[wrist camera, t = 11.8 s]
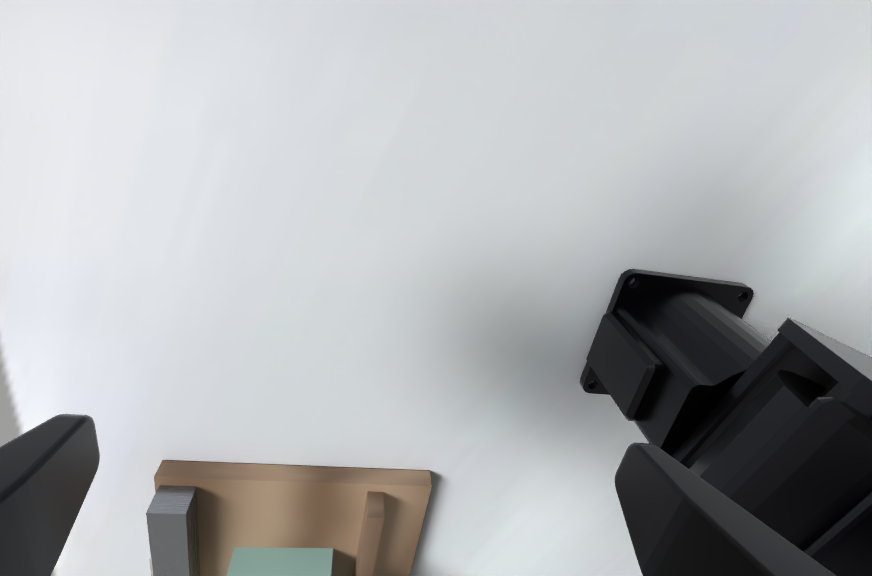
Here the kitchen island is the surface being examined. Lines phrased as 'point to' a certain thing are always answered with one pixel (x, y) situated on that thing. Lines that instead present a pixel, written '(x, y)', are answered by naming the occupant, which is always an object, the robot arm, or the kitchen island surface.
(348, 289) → the kitchen island surface
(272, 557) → the product carton
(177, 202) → the kitchen island surface
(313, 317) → the kitchen island surface
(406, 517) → the shelf
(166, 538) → the price rail
